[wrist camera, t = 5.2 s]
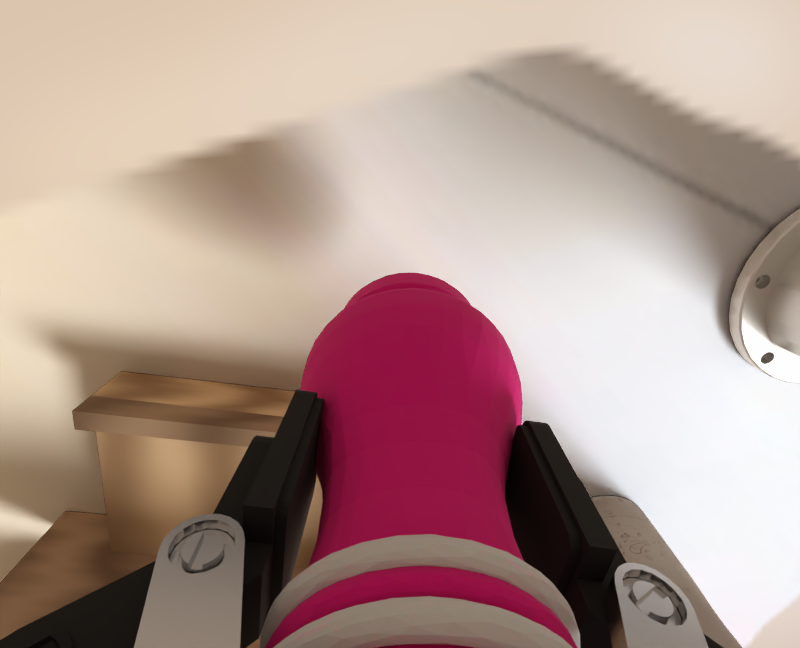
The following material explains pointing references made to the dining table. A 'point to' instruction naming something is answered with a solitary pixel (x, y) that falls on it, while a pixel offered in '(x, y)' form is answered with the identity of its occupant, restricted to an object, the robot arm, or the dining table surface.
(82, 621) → the robot arm
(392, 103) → the dining table surface
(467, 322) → the pepper mill
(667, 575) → the thermos bottle
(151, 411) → the wall shelf
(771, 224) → the dining table surface
